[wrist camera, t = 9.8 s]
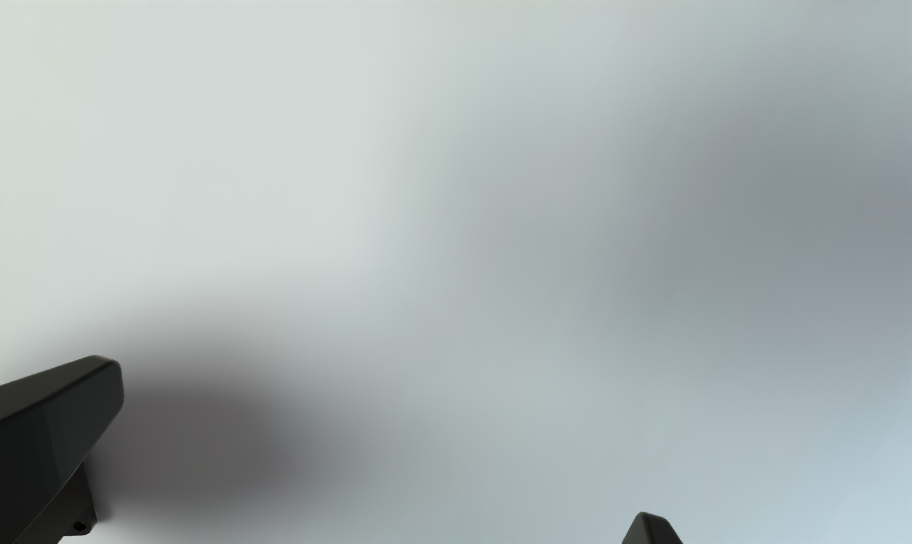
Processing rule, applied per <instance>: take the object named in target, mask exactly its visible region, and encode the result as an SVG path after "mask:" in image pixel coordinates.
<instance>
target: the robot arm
mask: <svg viewBox="0 0 912 544" xmlns="http://www.w3.org/2000/svg"><path fill="white" fill-rule="evenodd" d="M123 402H124V387H123V380H122V372H121V366H120V364H119V363H118V362H117V361H115V360H113V359H109V358H106V357H102V356H98V355H92V356H88V357H85V358H82V359H79V360H76V361H73V362H70V363H67V364H64V365H61V366H58V367H55V368H52V369H49V370H46V371H43V372H40V373H37V374H34V375H31V376H28V377H24V378H21V379H18V380H15V381H12V382H9V383H6V384H3V385H0V544H58V542H59V541H60V540H61V539H62V537H63V536H81V535H87V534H88V533H90V531H91V530H92V529H93V527H94V526H95V525H96V523H97V518H96V514H95V511H94V507H93V503H92V498H91V494H90V490H89V487H88V483H87V479H86V476H85V472H84V468H83V464H82V461H83V460H84V459H85V457H86V456H87V455H88V453H89V452H90V451H91V449H92V448H93V446H94V445H95V444H96V442H97V441H98V440H99V438H100V437H101V436H102V434H103V433H104V431H105V430H106V429H107V427H108V426H109V425H110V423H111V422H112V421H113V419H114V418H115V417H116V415H117V414H118V412H119V411H120V409H121V407H122V405H123ZM81 522H82V523H81ZM83 523H84V524H83ZM622 544H683V543H682V541H681V540H680V538H679V537H678V535H677V534H676V532H675V531H674V529H673V527H672V526H671V524H670V523H669V522H668V521H667V520H666V519H665V518H663V517H660V516H657V515H654V514H650V513H647V512H640V513H639V514H637V516H636V517H635V519H634V521H633V523H632V525H631V527H630V528H629V530H628V532H627V534H626V536H625V538H624V540H623V542H622Z"/></svg>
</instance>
